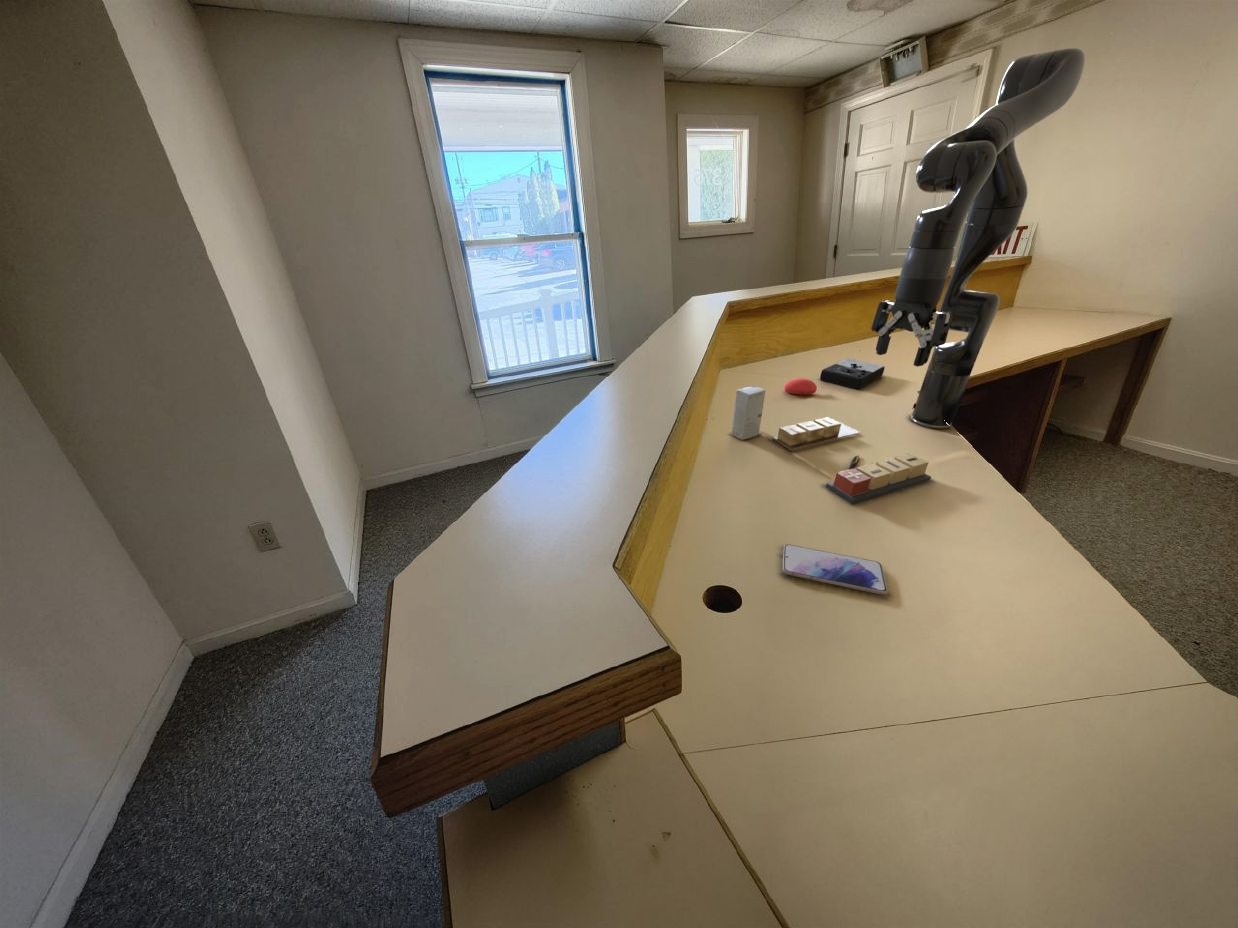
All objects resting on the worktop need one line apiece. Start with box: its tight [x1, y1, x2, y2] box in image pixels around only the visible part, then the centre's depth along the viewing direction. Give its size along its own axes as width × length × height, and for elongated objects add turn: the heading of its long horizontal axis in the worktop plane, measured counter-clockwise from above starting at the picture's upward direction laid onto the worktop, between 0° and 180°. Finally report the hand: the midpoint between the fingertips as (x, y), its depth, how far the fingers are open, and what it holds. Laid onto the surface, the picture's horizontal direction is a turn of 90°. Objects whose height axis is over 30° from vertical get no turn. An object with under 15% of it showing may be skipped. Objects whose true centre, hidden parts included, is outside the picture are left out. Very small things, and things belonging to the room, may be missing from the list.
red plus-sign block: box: [833, 468, 871, 496], centre depth 91 cm, size 4×4×3 cm
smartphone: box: [782, 543, 888, 596], centre depth 72 cm, size 7×1×15 cm
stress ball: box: [783, 377, 818, 396], centre depth 140 cm, size 5×9×6 cm
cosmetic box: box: [731, 385, 766, 441], centre depth 113 cm, size 6×4×12 cm
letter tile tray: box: [771, 416, 861, 453], centre depth 113 cm, size 22×7×4 cm, turn 113°
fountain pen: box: [848, 454, 860, 469], centre depth 99 cm, size 14×1×2 cm, turn 145°
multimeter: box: [819, 358, 886, 390], centre depth 152 cm, size 13×19×5 cm
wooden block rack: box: [825, 452, 932, 505], centre depth 94 cm, size 22×7×4 cm, turn 113°
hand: (898, 359), depth 92 cm, fingers open, 8 cm apart
